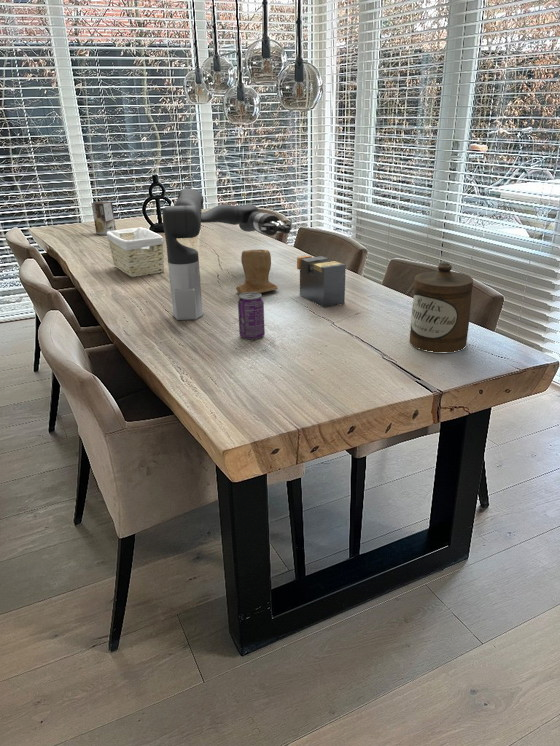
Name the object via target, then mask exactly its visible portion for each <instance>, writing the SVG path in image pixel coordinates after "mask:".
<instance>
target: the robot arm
mask: <svg viewBox="0 0 560 746" xmlns="http://www.w3.org/2000/svg"><path fill="white" fill-rule="evenodd" d="M204 201H205V199H204V196H203V194H201V192H199V191H197V190H195V189H192V188H183V189H180V191H179V192H178V194H177V198H176V201H175V203H174V204H173V205H167V206H165V207H164V208H163V210H162V224H163V226H162V227H163V232H164V236H165V237H164V238H165V244H166V245H165V246H166V254H167V266H168V275H169V285H170V295H171V296H170V297H171V304H172V305H171V306H172V314H173V315H172V316H173V318H174V319H176V321H182V320H183V321H185V320H186V321H187V320H191V321H192V320H198V319H199V318H201V317H202V316H203V315H204V311H203V310H204V309H203V307H204V306H203V297H202V287H201V286H202V285H201V274H200V271H201V270H200V261H199V260H200V257H199V252H198V250H196V249H195V248H192V247H189V246H186V245H183V244H182V243H181V242H179V241H178V240H177V239H193V238H197V237H198V236H199V235H200V233H201V229H202V224H203V223H204V224H205V223H221V224H227V225H233V226H234V225H236V226H237V225H238V226H239V229H240V230H242V231H243V232H249V233H250V232H255V231H257V232H259V233H261V234H265V235H267V236H275V235H276V234H278V233H279V234H290V233H291V231H292V229H293V222H292V221H288V222H286V223H285V222H284V221H281V220H280V218H279V217H278V215H275V214H272V213H267V212H261V211H260V210H259V208H258V207H257V206H256V205H253V204H243V205H238V206H236V205H231V204H227V203H226V204H218V205H215V206H214V207H212V208H211V209H208V210H206V211H204V212H203V211H202V209H203V206H204Z"/></svg>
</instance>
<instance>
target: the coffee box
mask: <svg viewBox="0 0 560 746" xmlns="http://www.w3.org/2000/svg"><path fill="white" fill-rule="evenodd" d="M91 209H92V215H93V221H94V227H95V232H96V233H95V234H96V235H104V236H107V232H108V231H114V230H117V229H116V227H117V226H116V221H115V214H114V206H113V202H112V201H106V200H105V201H103V200H102V201H101V200H99V201H95V202H91Z"/></svg>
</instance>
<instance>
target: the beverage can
mask: <svg viewBox="0 0 560 746" xmlns="http://www.w3.org/2000/svg"><path fill="white" fill-rule="evenodd" d="M238 295H239V294H238ZM238 297H239V299H238V301H237V310H238V314H237V315H238V327H239V328H238V330H239V336H240V337H241V338H244V339H246V340H256V338H257V339H259V338H262V337H264V335H265V331H266V330H265V306H264V305H265V303H264V299H263V298H262V297H263V295H262V293H256V292H247V293H242V294H240V295H239V296H238Z"/></svg>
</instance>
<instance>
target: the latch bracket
mask: <svg viewBox="0 0 560 746" xmlns="http://www.w3.org/2000/svg"><path fill="white" fill-rule="evenodd" d="M313 265H314V266H313ZM310 266H313V270H310ZM346 268H347V267H346V264H345V263H341V262H339V261H337V260H336V261H335V260H334V261H333V260H332V261H329V258H328V257H325V256H322V255H320V256H314V257H313V256H312V258H305V259H301V270H299V296H300V295H301V296H300V297H303V298H304V299H306V300H308V301H309V302H312V303H313V302H314V304H315V303H316V305H317V304H318V305H317V306H319V305H320V306H319V307H321V308H323V309H325V308H331V307H335V306H341V305H345V303H346V302H345V299H346V298H345V297H346ZM340 304H341V305H340Z"/></svg>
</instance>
